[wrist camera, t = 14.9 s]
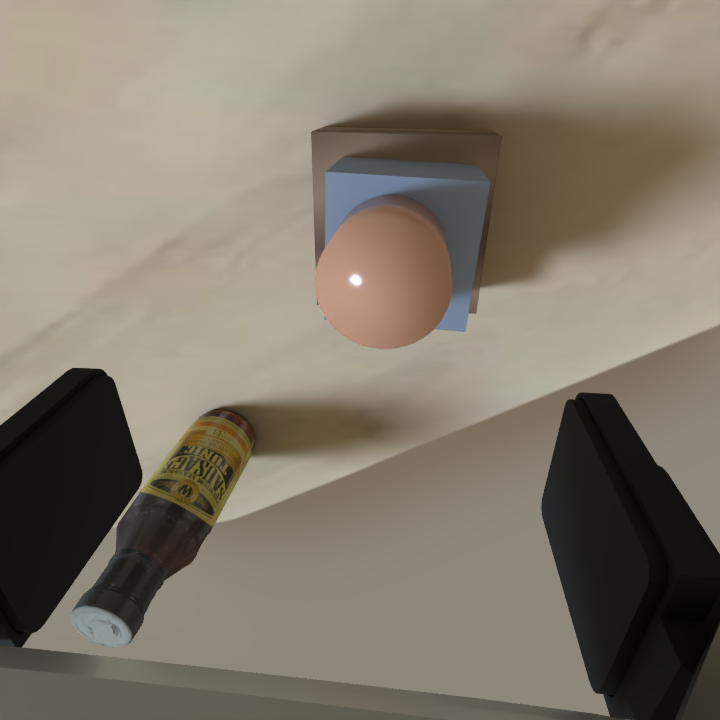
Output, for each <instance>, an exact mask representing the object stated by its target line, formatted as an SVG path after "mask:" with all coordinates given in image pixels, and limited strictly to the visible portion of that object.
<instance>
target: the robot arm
mask: <svg viewBox="0 0 720 720" xmlns="http://www.w3.org/2000/svg"><path fill="white" fill-rule="evenodd" d="M141 482H142V469H141V466H140V463H139V459H138V456H137V453H136V450H135V446H134V443H133V440H132V437H131V434H130V430H129V427H128V424H127V421H126V417H125V414H124V411H123V408H122V404H121V401H120V398H119V395H118V391H117V388H116V385H115V382H114V380H113V379H112V378H111V377H109V376H107V374H106V373H105V372H104V370H101V369H90V368H72V369H70V370H68V371H67V372H66V373H64V374H63V375H62V376H61V377H59V378H58V379H57V380H56V381H55V382H53V383H52V384H51V385H50V386H48V387H47V388H46V389H45V390H43V391H42V392H41V393H40V394H39V395H37V396H36V397H35V398H34V399H32V400H31V401H30V402H29V403H27V404H26V405H25V406H24V407H23V408H21V409H20V410H19V411H18V412H16V413H15V414H14V415H13V416H11V417H10V418H9V419H8V420H7V421H5V422H4V423H3V424H2V425H0V720H625V719H629V720H720V554H719V552H718V551H717V549H716V548H715V546H714V545H713V543H712V542H711V540H710V538H709V537H708V535H707V534H706V532H705V531H704V529H703V527H702V526H701V524H700V523H699V521H698V520H697V518H696V517H695V515H694V513H693V512H692V510H691V509H690V507H689V506H688V504H687V503H686V501H685V499H684V498H683V496H682V495H681V493H680V492H679V490H678V489H677V487H676V485H675V484H674V482H673V481H672V479H671V478H670V476H669V474H668V473H667V472H666V471H665V470H664V469H663V468H662V467H660V466H658V465H657V464H656V462H655V461H654V459H653V458H652V456H651V454H650V453H649V451H648V450H647V448H646V446H645V445H644V443H643V442H642V440H641V438H640V437H639V435H638V434H637V432H636V431H635V429H634V427H633V426H632V424H631V423H630V421H629V419H628V418H627V416H626V415H625V413H624V411H623V410H622V408H621V407H620V405H619V403H618V402H617V400H616V399H615V397H614V396H613V395H611V394H599V393H579V394H578V395H577V396H576V399H575V400H572V399H571V400H570V399H569V400H568V401H567V402H566V404H565V408H564V412H563V416H562V420H561V424H560V428H559V432H558V436H557V440H556V444H555V449H554V453H553V457H552V461H551V465H550V469H549V473H548V477H547V481H546V485H545V489H544V493H543V498H542V516H543V521H544V524H545V528H546V531H547V534H548V538H549V542H550V545H551V548H552V552H553V555H554V559H555V562H556V566H557V570H558V573H559V576H560V580H561V584H562V587H563V590H564V594H565V598H566V601H567V604H568V608H569V612H570V615H571V618H572V622H573V625H574V629H575V632H576V636H577V639H578V643H579V646H580V650H581V653H582V657H583V660H584V664H585V667H586V671H587V674H588V678H589V681H590V684H591V687H592V688H593V690H594V692H595V693H598V694H604V698H605V701H606V704H607V708H608V711H609V714H610V717H608V716H603V715H598V714H591V713H584V712H576V711H568V710H562V709H554V708H547V707H539V706H532V705H524V704H517V703H509V702H502V701H494V700H487V699H480V698H471V697H463V696H454V695H445V694H436V693H428V692H419V691H411V690H401V689H393V688H384V687H375V686H367V685H359V684H350V683H341V682H332V681H324V680H316V679H307V678H298V677H289V676H280V675H270V674H262V673H253V672H243V671H235V670H225V669H217V668H208V667H198V666H188V665H180V664H171V663H162V662H153V661H143V660H134V659H125V658H116V657H107V656H97V655H87V654H78V653H68V652H58V651H49V650H39V649H29V648H22V646H23V645H24V643H25V642H26V641H27V639H28V638H29V636H30V635H31V634H32V633H34V632H37V631H38V630H39V629H40V628H41V627H42V626H43V625H44V624H45V622H46V621H47V619H48V618H49V617H50V615H51V614H52V612H53V611H54V609H55V608H56V607H57V605H58V604H59V602H60V601H61V599H62V598H63V597H64V595H65V594H66V592H67V591H68V589H69V588H70V586H71V585H72V583H73V582H74V580H75V579H76V578H77V576H78V575H79V574H80V572H81V571H82V569H83V568H84V566H85V565H86V563H87V562H88V560H89V559H90V558H91V556H92V555H93V553H94V552H95V551H96V549H97V548H98V546H99V545H100V543H101V542H102V540H103V539H104V538H105V536H106V535H107V533H108V532H109V530H110V529H111V528H112V526H113V525H114V523H115V522H116V520H117V519H118V517H119V516H120V515H121V513H122V512H123V510H124V509H125V507H126V506H127V505H128V503H129V502H130V500H131V499H132V497H133V496H134V494H135V493H136V492H137V490H138V489H139V487H140V485H141Z"/></svg>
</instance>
